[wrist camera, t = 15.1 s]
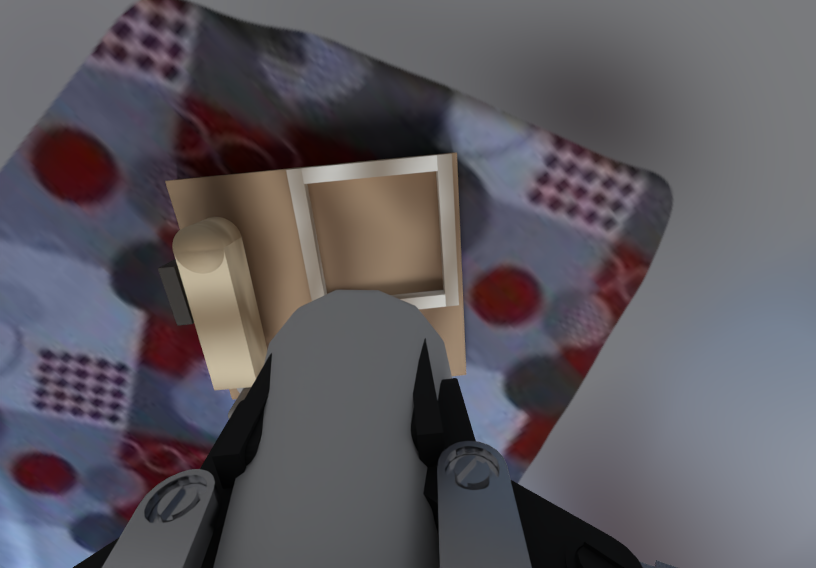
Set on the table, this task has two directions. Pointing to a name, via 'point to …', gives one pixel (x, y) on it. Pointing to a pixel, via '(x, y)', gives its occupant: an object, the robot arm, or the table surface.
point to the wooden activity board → (338, 238)
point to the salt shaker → (339, 443)
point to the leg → (221, 301)
